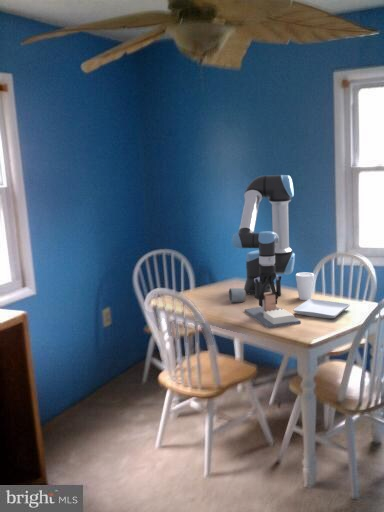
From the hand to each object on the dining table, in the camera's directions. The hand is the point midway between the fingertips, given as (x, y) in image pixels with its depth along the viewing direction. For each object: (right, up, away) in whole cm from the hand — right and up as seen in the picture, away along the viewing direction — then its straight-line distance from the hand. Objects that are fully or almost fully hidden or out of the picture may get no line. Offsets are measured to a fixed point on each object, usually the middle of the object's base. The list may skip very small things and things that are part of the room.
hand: (268, 311), depth 255 cm
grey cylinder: (-13, +2, +28) cm, 31 cm away
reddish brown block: (0, 0, 0) cm, 0 cm away
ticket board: (+1, -2, -3) cm, 4 cm away
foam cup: (+23, +4, +27) cm, 36 cm away
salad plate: (+26, -1, +1) cm, 26 cm away
